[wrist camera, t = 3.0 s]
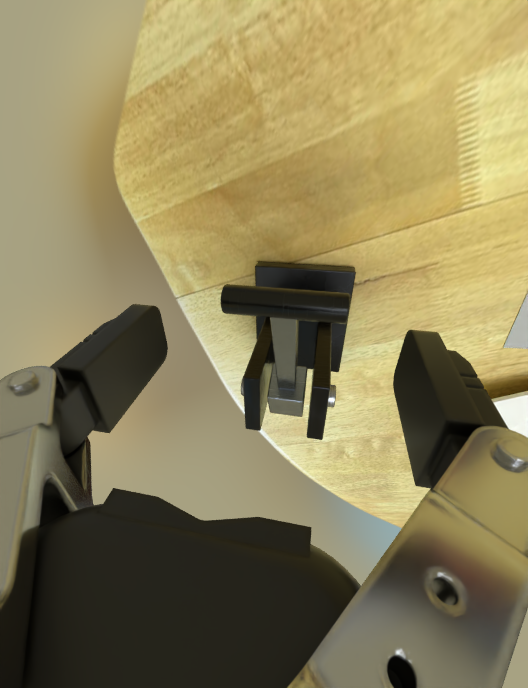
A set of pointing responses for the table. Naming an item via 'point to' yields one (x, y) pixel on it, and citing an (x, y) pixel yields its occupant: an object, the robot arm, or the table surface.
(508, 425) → the plate
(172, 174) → the table surface
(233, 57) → the table surface
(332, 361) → the lever bracket
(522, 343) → the grey square pad
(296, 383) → the press lever
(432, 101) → the table surface
